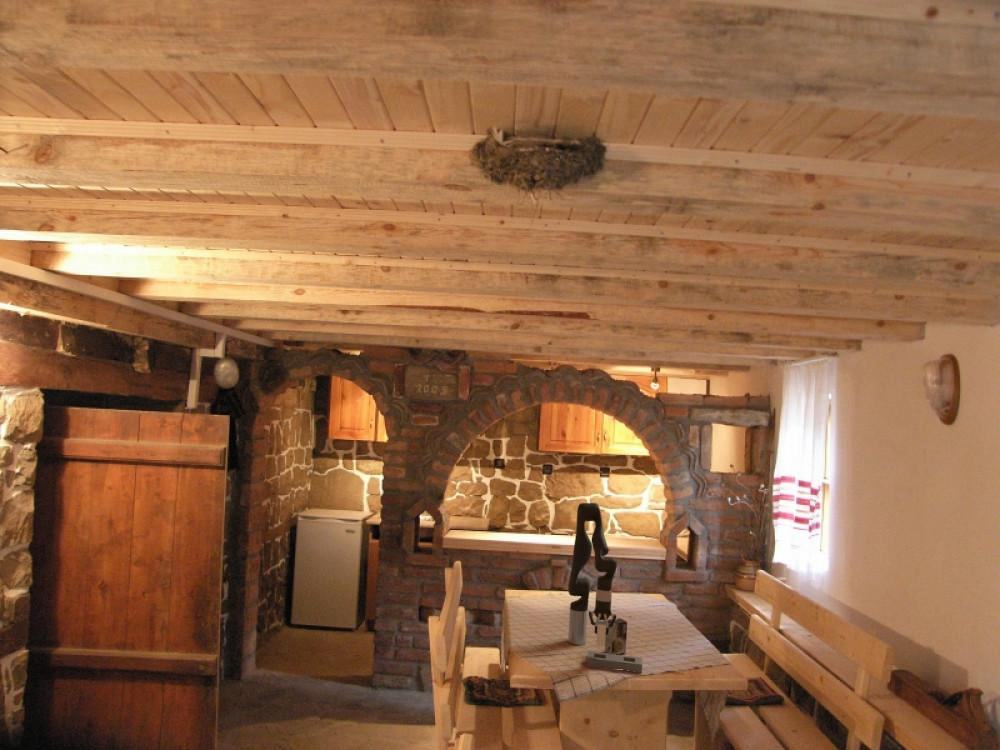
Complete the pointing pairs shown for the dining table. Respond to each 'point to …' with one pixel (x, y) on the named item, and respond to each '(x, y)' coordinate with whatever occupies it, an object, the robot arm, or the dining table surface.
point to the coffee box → (616, 637)
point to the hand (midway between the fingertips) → (601, 634)
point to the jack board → (614, 661)
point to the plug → (601, 633)
